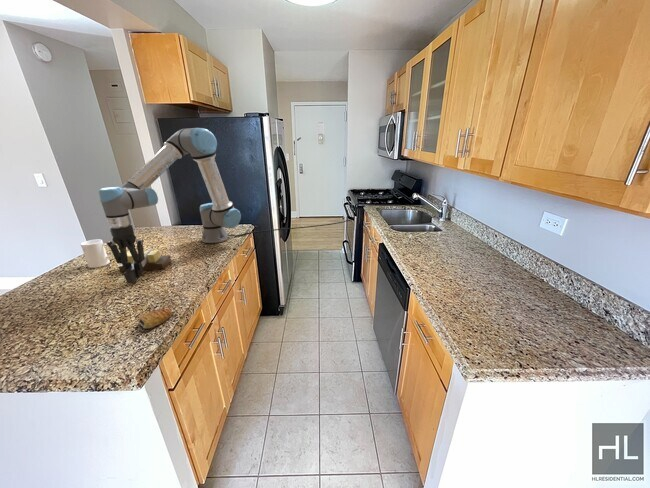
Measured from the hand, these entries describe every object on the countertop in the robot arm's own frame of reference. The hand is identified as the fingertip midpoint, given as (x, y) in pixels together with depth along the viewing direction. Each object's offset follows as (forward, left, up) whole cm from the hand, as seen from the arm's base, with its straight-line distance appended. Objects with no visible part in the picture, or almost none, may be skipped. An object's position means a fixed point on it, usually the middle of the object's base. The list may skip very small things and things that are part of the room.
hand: (135, 276), depth 115 cm
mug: (+25, -20, -2) cm, 32 cm away
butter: (+6, -14, +1) cm, 15 cm away
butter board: (+2, -14, -2) cm, 14 cm away
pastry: (-21, +33, -2) cm, 39 cm away
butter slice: (-2, -14, +1) cm, 14 cm away
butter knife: (0, -7, +1) cm, 7 cm away
